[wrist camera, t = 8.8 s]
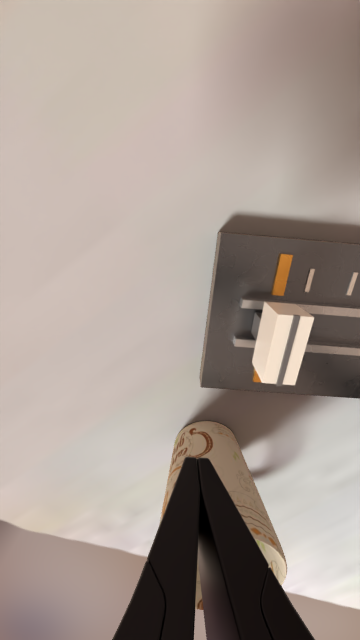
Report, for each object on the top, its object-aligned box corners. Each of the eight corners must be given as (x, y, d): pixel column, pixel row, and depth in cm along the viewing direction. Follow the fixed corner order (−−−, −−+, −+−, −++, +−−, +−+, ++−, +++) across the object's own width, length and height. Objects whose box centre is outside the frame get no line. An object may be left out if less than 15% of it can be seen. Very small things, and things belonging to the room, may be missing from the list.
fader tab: (284, 294, 18) (315, 317, 14) (270, 351, 20) (295, 387, 15) (255, 292, 18) (279, 314, 14) (244, 349, 20) (262, 385, 15)
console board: (478, 254, 18) (513, 258, 17) (411, 392, 23) (433, 408, 21) (218, 231, 18) (222, 233, 16) (199, 376, 22) (201, 391, 20)
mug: (227, 397, 23) (260, 516, 14) (273, 485, 27) (322, 623, 18) (147, 429, 24) (127, 557, 15) (202, 508, 28) (212, 648, 19)
